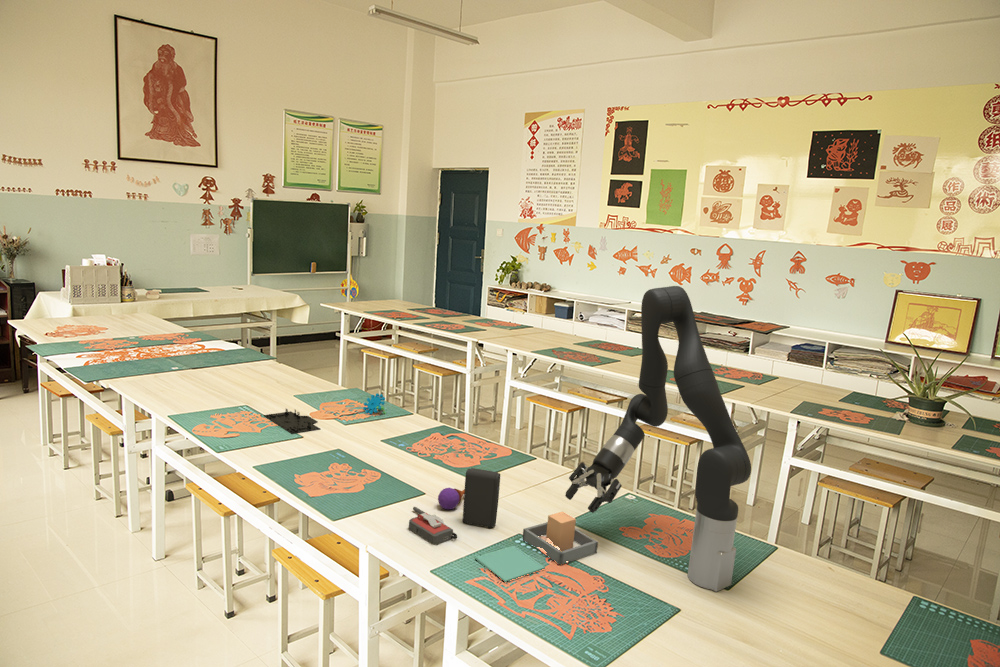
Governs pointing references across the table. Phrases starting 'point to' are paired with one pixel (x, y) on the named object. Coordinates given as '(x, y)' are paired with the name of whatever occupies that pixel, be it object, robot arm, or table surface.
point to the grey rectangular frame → (531, 536)
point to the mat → (509, 563)
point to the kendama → (450, 498)
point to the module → (561, 530)
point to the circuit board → (293, 422)
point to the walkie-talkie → (431, 528)
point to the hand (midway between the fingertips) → (578, 504)
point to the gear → (375, 404)
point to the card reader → (481, 497)
